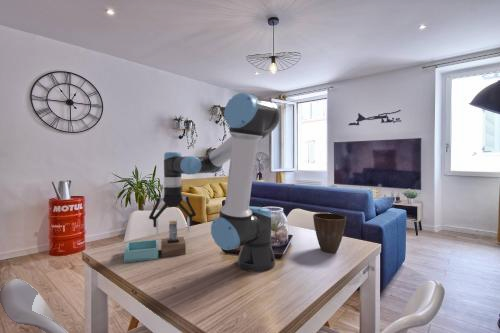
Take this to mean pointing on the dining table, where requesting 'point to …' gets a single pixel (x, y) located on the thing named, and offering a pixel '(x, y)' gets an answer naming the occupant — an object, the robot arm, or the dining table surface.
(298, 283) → the dining table surface
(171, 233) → the steel pin
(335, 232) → the plant pot
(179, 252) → the block
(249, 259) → the robot arm
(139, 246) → the pin tray
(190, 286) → the dining table surface
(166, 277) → the dining table surface
